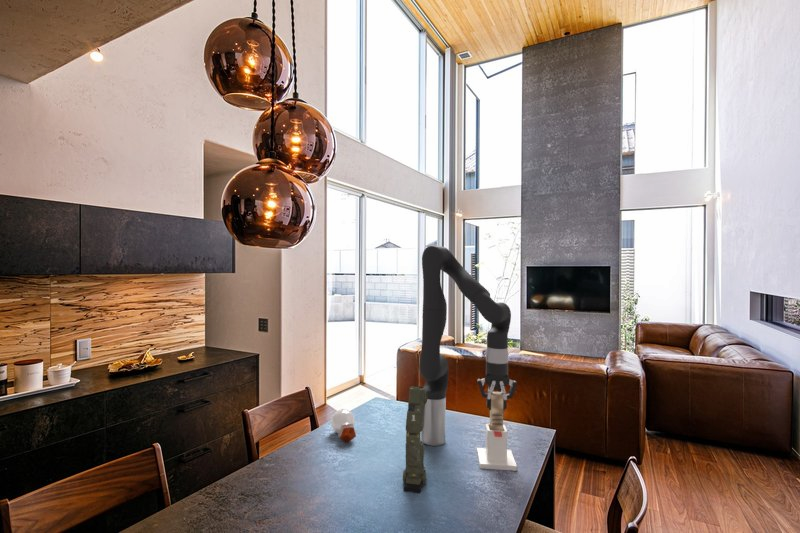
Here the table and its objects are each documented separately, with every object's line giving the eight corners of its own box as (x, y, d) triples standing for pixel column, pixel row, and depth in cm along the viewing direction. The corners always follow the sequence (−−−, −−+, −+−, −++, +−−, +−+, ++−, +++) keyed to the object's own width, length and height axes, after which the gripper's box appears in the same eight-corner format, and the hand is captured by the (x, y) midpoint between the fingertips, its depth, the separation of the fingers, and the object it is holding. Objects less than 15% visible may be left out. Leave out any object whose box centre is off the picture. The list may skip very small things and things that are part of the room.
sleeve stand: (479, 468, 132) (480, 433, 132) (476, 451, 144) (477, 420, 144) (516, 470, 131) (517, 435, 131) (510, 453, 142) (510, 421, 143)
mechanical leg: (421, 497, 113) (426, 388, 120) (397, 494, 114) (403, 386, 122) (427, 484, 126) (431, 386, 133) (405, 481, 127) (410, 384, 135)
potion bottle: (343, 430, 164) (350, 450, 150) (324, 419, 161) (330, 439, 147) (356, 412, 165) (365, 430, 151) (338, 400, 162) (345, 418, 148)
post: (490, 458, 135) (491, 395, 135) (489, 452, 139) (489, 391, 140) (503, 458, 135) (503, 395, 135) (501, 453, 139) (501, 391, 139)
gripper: (477, 361, 134) (476, 412, 134) (520, 363, 133) (519, 414, 133) (475, 357, 142) (474, 405, 142) (516, 358, 140) (515, 407, 140)
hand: (496, 409), depth 137 cm, fingers closed on post, 4 cm apart
